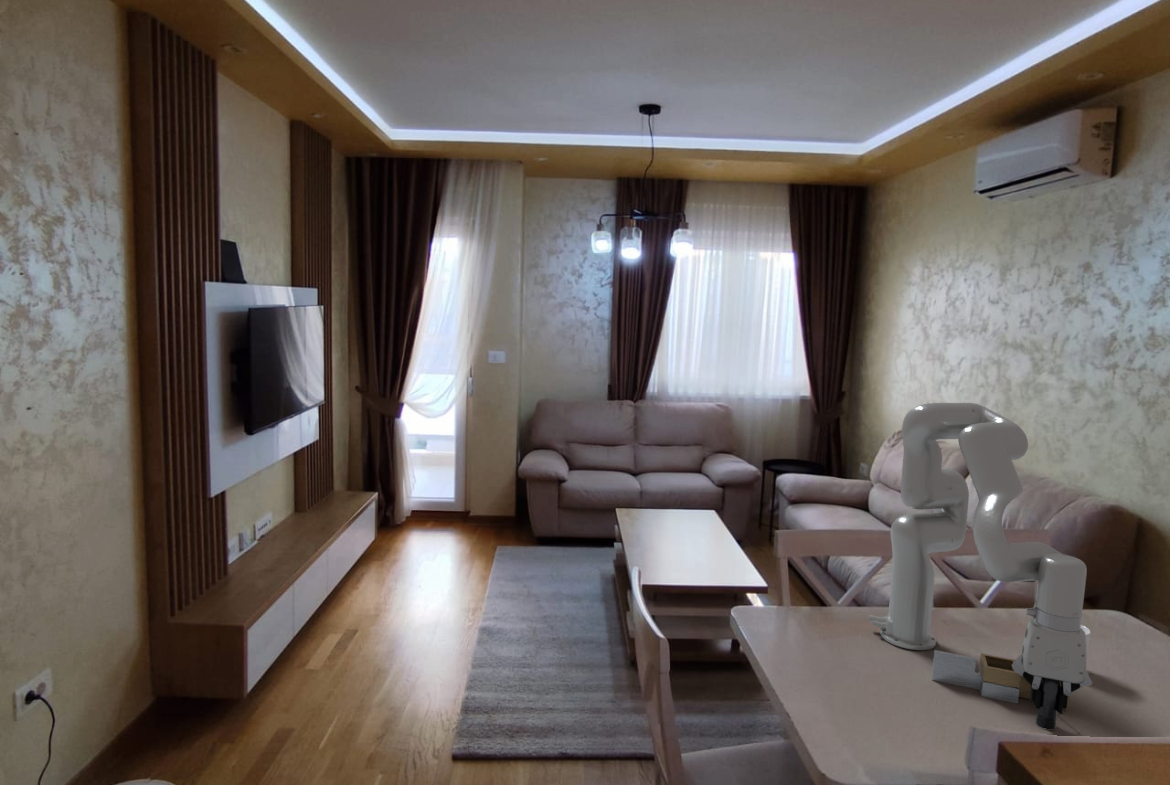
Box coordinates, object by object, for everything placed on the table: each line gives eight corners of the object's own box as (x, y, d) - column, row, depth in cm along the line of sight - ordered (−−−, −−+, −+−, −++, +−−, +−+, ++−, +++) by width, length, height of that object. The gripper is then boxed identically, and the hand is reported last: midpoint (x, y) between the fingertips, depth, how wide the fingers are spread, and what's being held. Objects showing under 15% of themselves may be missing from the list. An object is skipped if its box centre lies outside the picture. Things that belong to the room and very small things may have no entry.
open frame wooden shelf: (981, 695, 149) (984, 667, 148) (978, 680, 155) (980, 653, 155) (1069, 713, 143) (1072, 684, 143) (1061, 697, 149) (1064, 669, 149)
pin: (1037, 727, 138) (1043, 674, 137) (1034, 718, 141) (1040, 666, 140) (1056, 731, 137) (1062, 678, 136) (1053, 723, 140) (1059, 670, 139)
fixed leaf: (932, 686, 153) (935, 657, 152) (931, 672, 159) (933, 644, 158) (1017, 703, 147) (1020, 674, 146) (1012, 688, 153) (1015, 659, 152)
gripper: (1011, 618, 136) (1002, 707, 138) (1114, 635, 130) (1102, 729, 132) (1005, 603, 143) (996, 689, 145) (1102, 619, 137) (1092, 708, 139)
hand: (1047, 707), depth 139 cm, fingers closed on pin, 3 cm apart
